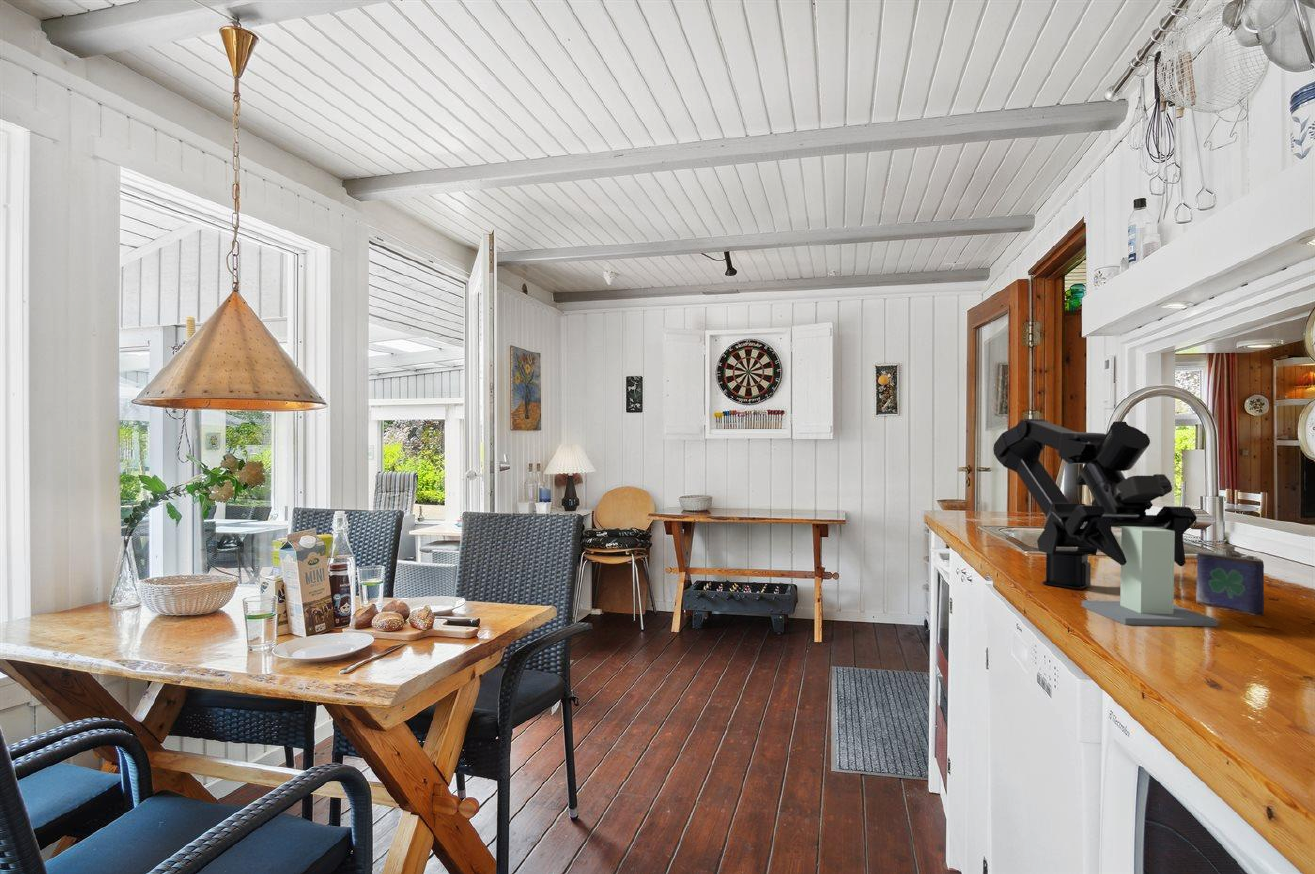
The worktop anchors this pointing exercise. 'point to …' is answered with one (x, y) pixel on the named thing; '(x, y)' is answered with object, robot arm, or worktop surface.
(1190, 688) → the worktop surface
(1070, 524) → the robot arm
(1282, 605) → the worktop surface
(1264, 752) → the worktop surface
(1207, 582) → the clover slab
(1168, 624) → the slate mat
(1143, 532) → the sage block
